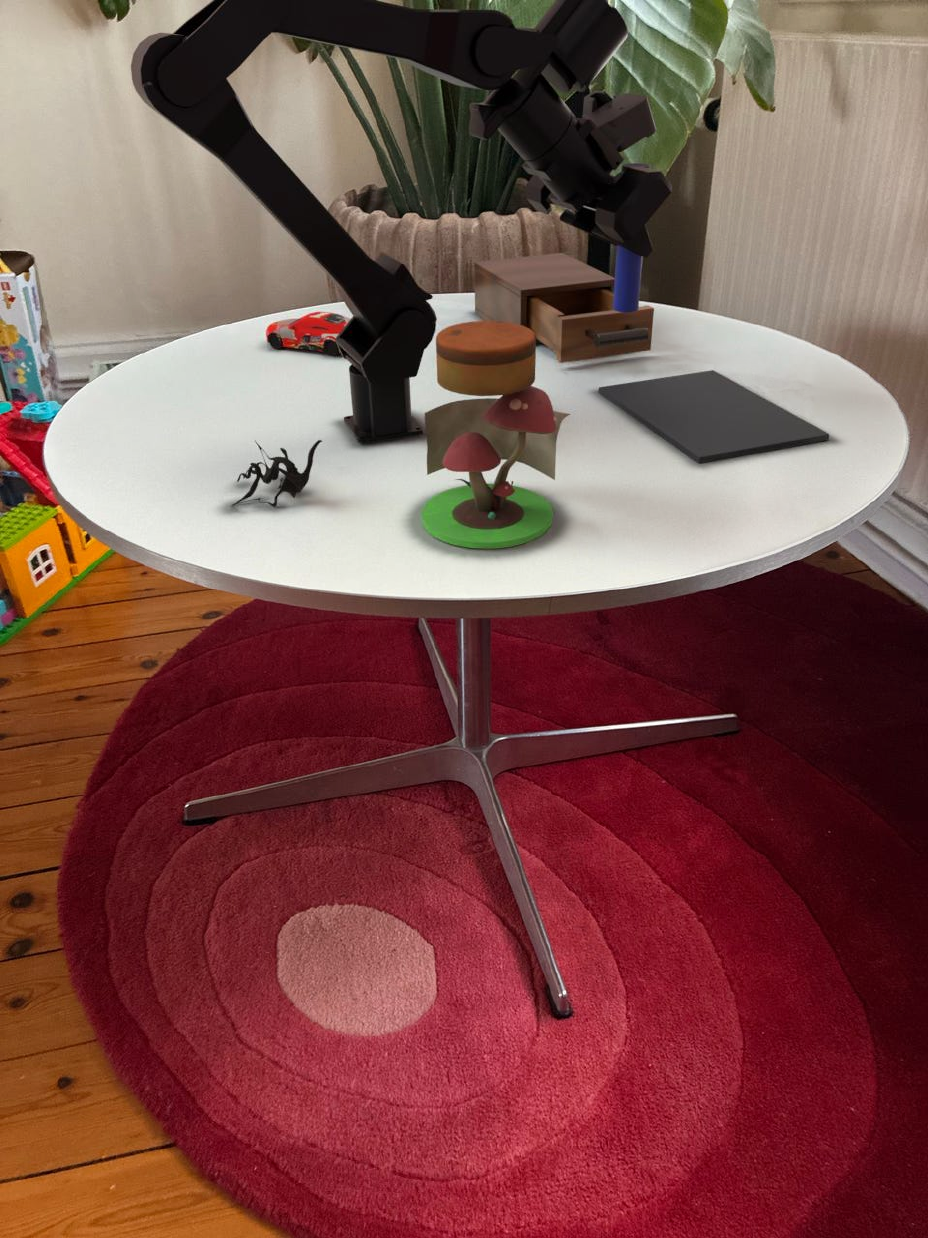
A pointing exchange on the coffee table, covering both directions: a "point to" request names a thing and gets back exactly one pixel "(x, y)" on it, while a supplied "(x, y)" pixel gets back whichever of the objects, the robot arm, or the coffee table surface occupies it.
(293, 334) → the race car
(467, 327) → the mushroom figurine
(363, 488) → the coffee table surface
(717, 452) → the desk mat
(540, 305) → the drawer
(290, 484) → the creature
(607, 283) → the cabinet
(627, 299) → the marker
